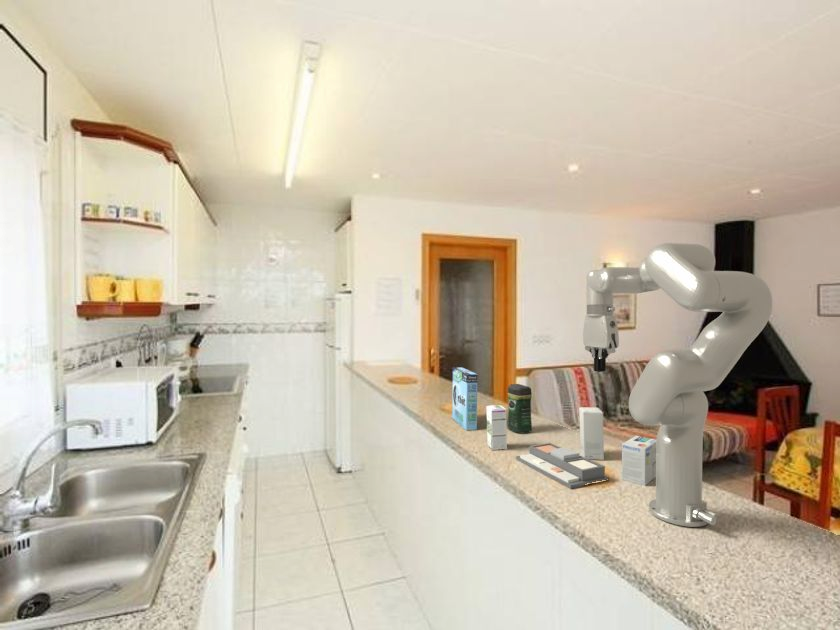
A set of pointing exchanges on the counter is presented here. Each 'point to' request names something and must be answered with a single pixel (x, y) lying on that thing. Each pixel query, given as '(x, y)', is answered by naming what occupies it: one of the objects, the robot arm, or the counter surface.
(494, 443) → the syrup box
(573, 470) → the keypad
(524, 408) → the coffee jar
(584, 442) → the skincare box
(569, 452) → the grey key
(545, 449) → the terracotta key
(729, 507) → the counter surface
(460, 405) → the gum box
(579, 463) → the cream key
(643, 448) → the light bulb box
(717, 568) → the counter surface
